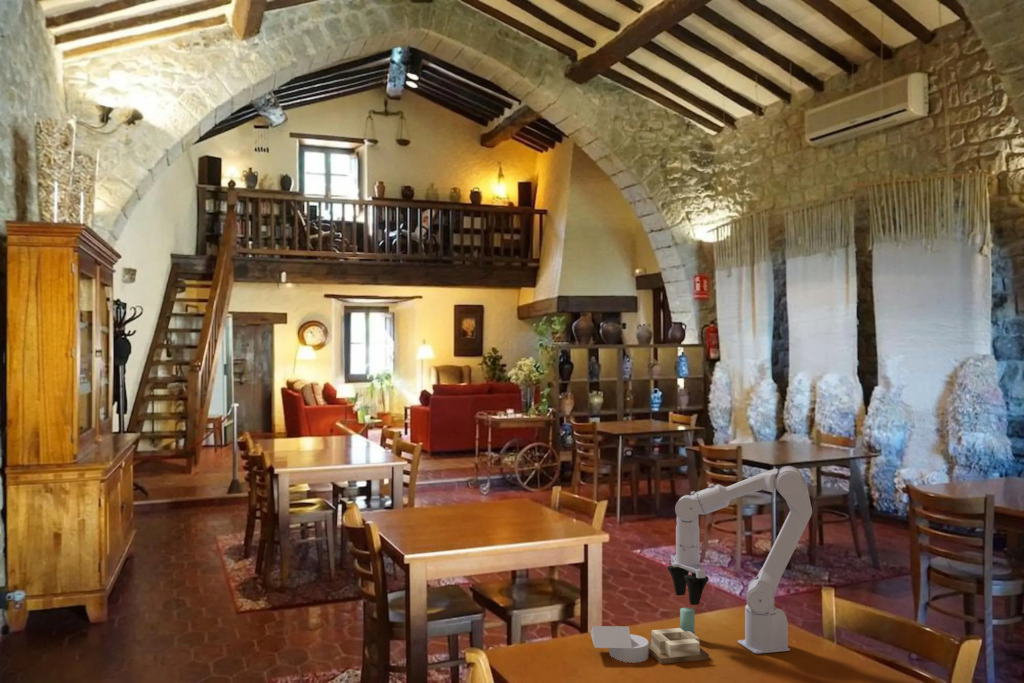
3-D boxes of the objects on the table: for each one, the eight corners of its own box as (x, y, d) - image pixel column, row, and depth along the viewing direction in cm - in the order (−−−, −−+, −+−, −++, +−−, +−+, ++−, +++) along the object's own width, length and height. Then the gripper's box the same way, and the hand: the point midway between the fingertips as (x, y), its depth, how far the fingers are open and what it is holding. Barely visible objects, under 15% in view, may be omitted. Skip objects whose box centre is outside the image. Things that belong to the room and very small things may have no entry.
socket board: (688, 643, 186) (688, 627, 186) (708, 659, 176) (708, 641, 176) (642, 647, 183) (642, 630, 183) (660, 663, 173) (660, 646, 174)
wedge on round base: (594, 662, 174) (651, 663, 174) (594, 633, 174) (651, 633, 174) (590, 647, 183) (644, 648, 183) (590, 619, 183) (644, 619, 183)
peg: (690, 635, 192) (690, 607, 192) (697, 640, 188) (697, 611, 189) (677, 636, 191) (677, 608, 191) (684, 641, 188) (684, 612, 188)
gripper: (660, 538, 196) (659, 591, 196) (686, 552, 182) (686, 609, 182) (685, 537, 198) (685, 590, 198) (713, 551, 184) (713, 607, 184)
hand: (687, 599), depth 190 cm, fingers open, 7 cm apart
